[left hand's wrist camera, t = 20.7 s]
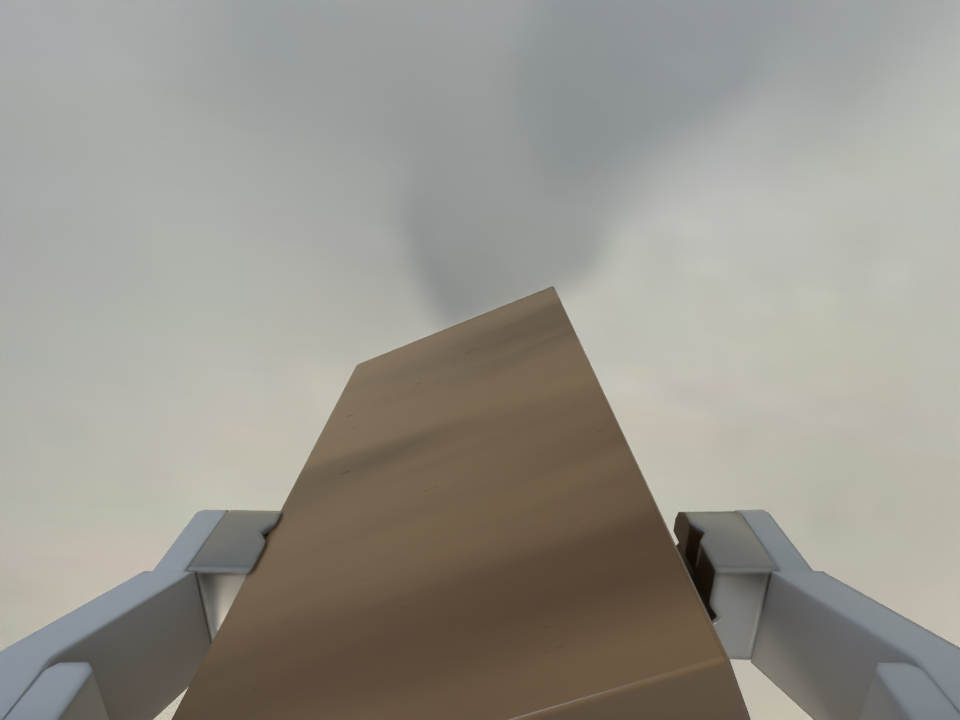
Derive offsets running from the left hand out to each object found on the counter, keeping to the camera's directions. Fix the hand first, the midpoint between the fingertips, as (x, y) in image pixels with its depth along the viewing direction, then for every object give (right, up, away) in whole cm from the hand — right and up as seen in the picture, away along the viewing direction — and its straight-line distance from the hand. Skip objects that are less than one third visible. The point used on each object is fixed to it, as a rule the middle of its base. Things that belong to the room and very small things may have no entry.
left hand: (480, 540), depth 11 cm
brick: (0, +2, +6) cm, 7 cm away
